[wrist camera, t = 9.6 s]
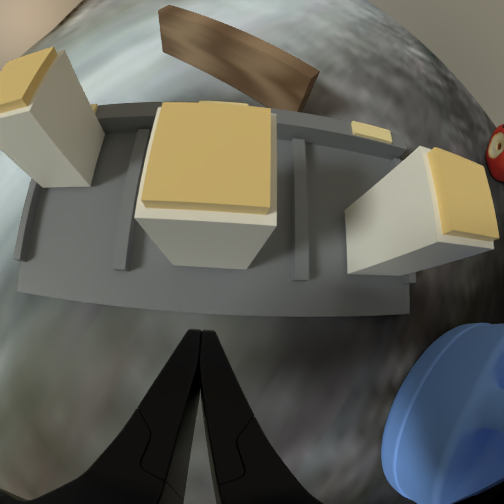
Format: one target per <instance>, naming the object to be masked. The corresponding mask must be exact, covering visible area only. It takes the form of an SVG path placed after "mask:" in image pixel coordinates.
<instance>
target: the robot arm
mask: <svg viewBox="0 0 504 504" xmlns="http://www.w3.org/2000/svg"><path fill="white" fill-rule="evenodd" d="M200 388H201V401H202V410H203V418H204V426H205V434H206V441H207V448H208V455H209V462H210V468H211V474H212V480H213V486H214V492H215V497H216V502H217V504H323V503H322V502H320V501H319V500H317V499H316V498H315V497H313V496H312V495H311V494H310V493H309V492H308V491H307V490H306V489H305V488H304V487H303V486H302V485H301V484H300V483H299V482H298V480H297V479H296V478H295V477H294V475H293V474H292V473H291V472H290V470H289V469H288V468H287V466H286V465H285V464H284V462H283V461H282V460H281V458H280V457H279V456H278V454H277V453H276V452H275V450H274V449H273V447H272V446H271V444H270V443H269V441H268V440H267V438H266V436H265V434H264V433H263V431H262V429H261V427H260V425H259V423H258V421H257V420H256V418H255V417H254V414H253V412H252V410H251V408H250V406H249V404H248V402H247V400H246V397H245V395H244V393H243V391H242V389H241V387H240V385H239V383H238V381H237V379H236V376H235V374H234V372H233V370H232V368H231V366H230V363H229V361H228V359H227V357H226V355H225V352H224V350H223V348H222V346H221V343H220V341H219V339H218V336H217V334H216V332H215V331H214V330H203V331H201V330H199V329H189V330H188V331H187V332H186V334H185V335H184V337H183V338H182V340H181V342H180V343H179V345H178V346H177V348H176V349H175V351H174V352H173V354H172V355H171V357H170V358H169V360H168V361H167V363H166V364H165V366H164V367H163V369H162V370H161V372H160V373H159V375H158V377H157V378H156V380H155V381H154V383H153V384H152V386H151V387H150V389H149V390H148V392H147V393H146V395H145V397H144V398H143V400H142V401H141V403H140V404H139V406H138V409H136V410H135V412H134V413H133V415H132V416H131V418H130V419H129V421H128V422H127V424H126V425H125V426H124V428H123V429H122V431H121V432H120V433H119V434H118V436H117V437H116V438H115V439H114V440H113V442H112V443H111V444H110V445H109V446H108V447H107V449H106V450H105V451H104V452H103V453H102V454H101V455H100V457H99V458H98V459H97V460H96V461H95V462H94V463H93V465H92V466H91V467H90V468H89V469H88V470H87V471H86V472H85V473H83V474H82V475H81V476H80V477H78V478H77V479H75V480H73V481H71V482H69V483H67V484H65V485H63V486H61V487H59V488H57V489H55V490H53V491H51V492H49V493H47V494H45V495H42V496H40V497H38V498H36V499H33V500H26V499H23V498H21V497H19V496H16V495H14V494H12V493H9V492H7V491H5V490H3V489H0V504H183V503H184V501H183V500H184V495H185V488H186V481H187V474H188V467H189V460H190V454H191V447H192V440H193V434H194V428H195V422H196V415H197V409H198V403H199V397H200ZM451 504H504V478H502V479H500V480H498V481H497V482H495V483H493V484H491V485H489V486H487V487H485V488H483V489H481V490H479V491H477V492H475V493H473V494H471V495H468V496H466V497H464V498H462V499H459V500H457V501H455V502H453V503H451Z"/></svg>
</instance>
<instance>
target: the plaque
mask: <svg viewBox="0 0 504 504" xmlns="http://www.w3.org/2000/svg"><path fill="white" fill-rule="evenodd" d="M158 14H159V23H160V32H161V40H162V48H163V52H164V53H167V54H169V55H171V56H173V57H175V58H178V59H180V60H182V61H184V62H186V63H188V64H190V65H192V66H194V67H196V68H198V69H200V70H202V71H204V72H206V73H208V74H210V75H212V76H214V77H216V78H218V79H220V80H221V81H223V82H225V83H227V84H229V85H231V86H232V87H234V88H236V89H238V90H239V91H241V92H243V93H245V94H246V95H248V96H250V97H251V98H253V99H255V100H256V101H258V102H260V103H261V104H263V105H265V106H266V107H268V108H274V109H281V110H288V111H295V112H301V113H302V110H303V108H304V106H305V104H306V101H307V99H308V97H309V94H310V92H311V90H312V88H313V85H314V83H315V81H316V79H317V76H318V74H319V72H320V71H318V70H317V69H315V68H313V67H312V66H310V65H308V64H307V63H305V62H303V61H301V60H300V59H298V58H296V57H294V56H292V55H291V54H289V53H287V52H285V51H283V50H281V49H279V48H277V47H275V46H273V45H271V44H269V43H267V42H265V41H263V40H261V39H259V38H257V37H255V36H253V35H250V34H248V33H246V32H244V31H241V30H239V29H237V28H234V27H232V26H229V25H227V24H224V23H222V22H219V21H217V20H214V19H211V18H209V17H206V16H203V15H200V14H197V13H194V12H191V11H188V10H185V9H182V8H178V7H175V6H171V5H168V6H166V7H164V8H162V9H160V10H158Z"/></svg>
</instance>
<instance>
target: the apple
mask: <svg viewBox="0 0 504 504" xmlns="http://www.w3.org/2000/svg"><path fill="white" fill-rule="evenodd" d="M486 162H487V165H488V168H489V171H490V173H491V175H492V177H493V178H494V179H496V180H498V181H501V182H504V124H502V125H500V126H499V127H498V128H496V130H495V131H494V133H493V134H492V136H491V139H490V142H489V145H488V148H487V151H486Z"/></svg>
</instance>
